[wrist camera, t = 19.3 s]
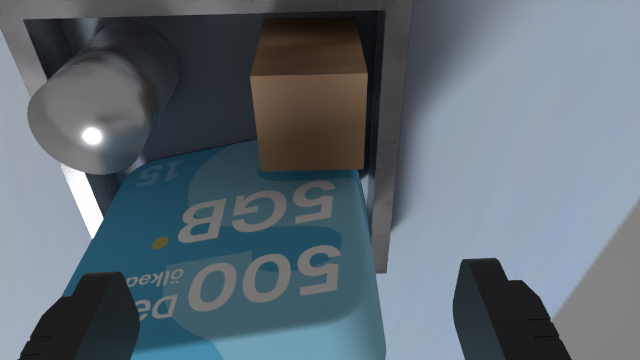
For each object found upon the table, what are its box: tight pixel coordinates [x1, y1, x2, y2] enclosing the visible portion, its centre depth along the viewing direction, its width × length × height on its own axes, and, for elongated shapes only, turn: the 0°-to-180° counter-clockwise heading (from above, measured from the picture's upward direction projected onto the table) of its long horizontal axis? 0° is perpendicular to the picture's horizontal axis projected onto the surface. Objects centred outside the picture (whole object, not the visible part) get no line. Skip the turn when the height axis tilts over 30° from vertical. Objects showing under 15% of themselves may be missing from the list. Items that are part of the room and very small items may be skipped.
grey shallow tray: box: [0, 0, 413, 274], centre depth 23 cm, size 21×16×2 cm
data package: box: [61, 139, 386, 360], centre depth 21 cm, size 12×4×12 cm, turn 103°
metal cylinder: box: [27, 21, 180, 175], centre depth 19 cm, size 4×4×6 cm
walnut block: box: [250, 17, 368, 172], centre depth 19 cm, size 4×4×6 cm
